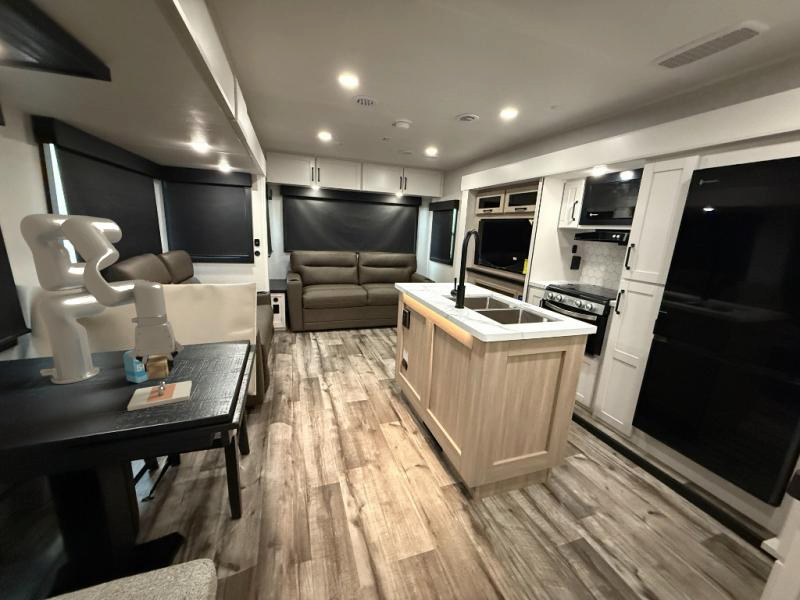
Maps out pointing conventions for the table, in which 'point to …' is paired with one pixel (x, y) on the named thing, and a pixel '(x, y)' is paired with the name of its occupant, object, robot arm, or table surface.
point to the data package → (134, 369)
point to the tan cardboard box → (157, 366)
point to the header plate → (151, 398)
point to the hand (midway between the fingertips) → (160, 370)
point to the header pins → (161, 388)
